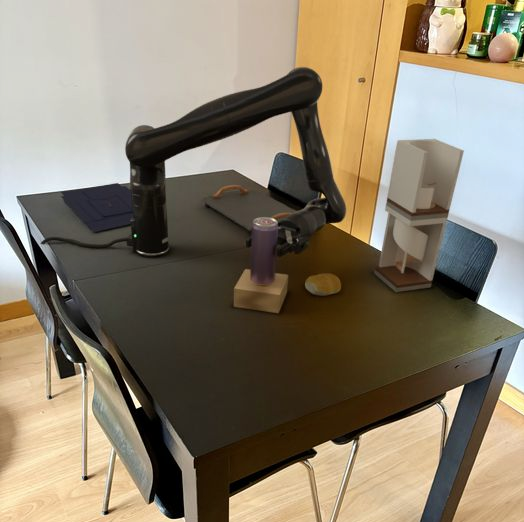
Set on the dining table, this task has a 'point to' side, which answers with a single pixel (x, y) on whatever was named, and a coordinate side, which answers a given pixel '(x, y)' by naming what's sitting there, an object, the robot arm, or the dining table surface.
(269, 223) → the beverage can
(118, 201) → the folded navy cloth
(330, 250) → the dining table surface
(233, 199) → the serving tray
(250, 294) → the birch block
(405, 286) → the architectural tower model
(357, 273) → the dining table surface
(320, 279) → the bread roll
